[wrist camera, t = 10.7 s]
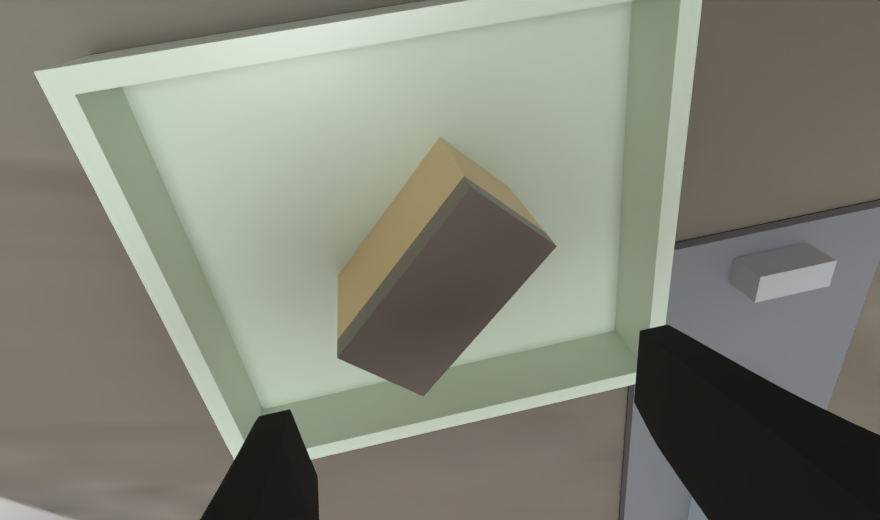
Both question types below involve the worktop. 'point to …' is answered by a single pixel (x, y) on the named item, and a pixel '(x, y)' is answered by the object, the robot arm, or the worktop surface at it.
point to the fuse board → (760, 322)
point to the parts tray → (391, 193)
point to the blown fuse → (435, 270)
